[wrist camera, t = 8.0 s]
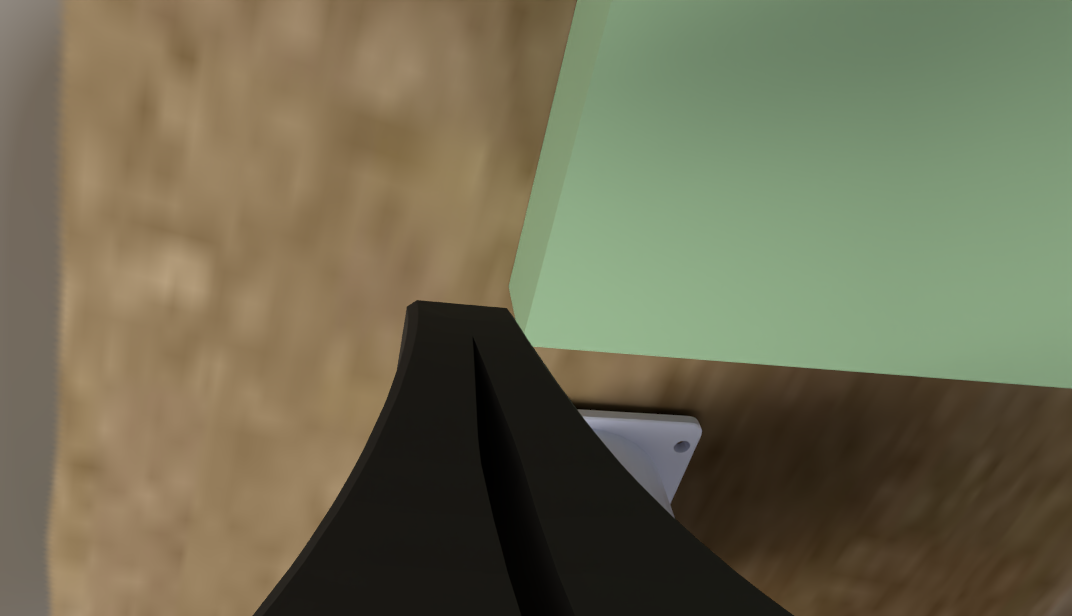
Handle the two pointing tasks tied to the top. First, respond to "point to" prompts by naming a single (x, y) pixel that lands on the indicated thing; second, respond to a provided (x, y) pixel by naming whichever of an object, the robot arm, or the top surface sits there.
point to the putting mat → (809, 187)
